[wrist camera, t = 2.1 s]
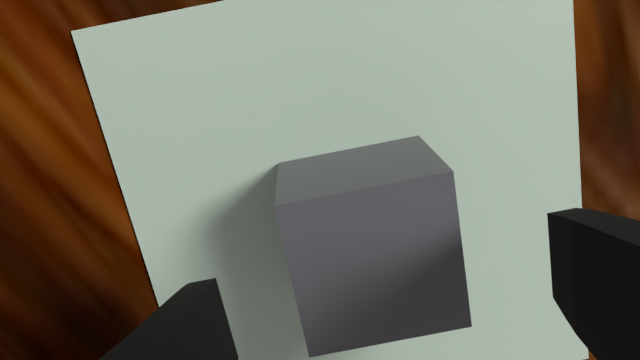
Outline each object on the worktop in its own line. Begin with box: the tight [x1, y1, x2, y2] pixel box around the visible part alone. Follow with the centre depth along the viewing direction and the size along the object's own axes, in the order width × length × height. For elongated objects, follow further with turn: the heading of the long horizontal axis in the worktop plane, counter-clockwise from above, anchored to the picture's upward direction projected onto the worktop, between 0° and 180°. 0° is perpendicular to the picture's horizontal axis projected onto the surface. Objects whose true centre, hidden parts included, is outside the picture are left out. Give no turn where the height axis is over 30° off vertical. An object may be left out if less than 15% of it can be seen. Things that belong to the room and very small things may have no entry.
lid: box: [71, 0, 588, 360], centre depth 15 cm, size 13×13×4 cm
